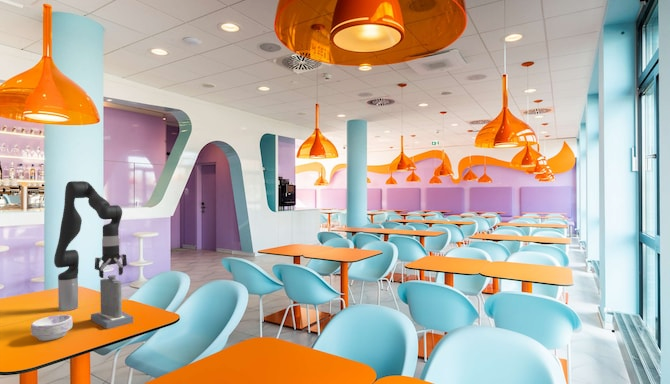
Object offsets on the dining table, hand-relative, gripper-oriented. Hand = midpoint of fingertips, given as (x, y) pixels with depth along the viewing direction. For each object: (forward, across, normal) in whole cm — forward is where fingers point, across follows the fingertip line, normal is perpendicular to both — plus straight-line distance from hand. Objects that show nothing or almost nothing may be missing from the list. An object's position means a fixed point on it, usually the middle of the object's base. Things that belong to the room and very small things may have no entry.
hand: (111, 276), depth 197 cm
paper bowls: (+23, +26, +2) cm, 35 cm away
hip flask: (+20, 0, 0) cm, 20 cm away
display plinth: (+23, 0, 0) cm, 23 cm away
